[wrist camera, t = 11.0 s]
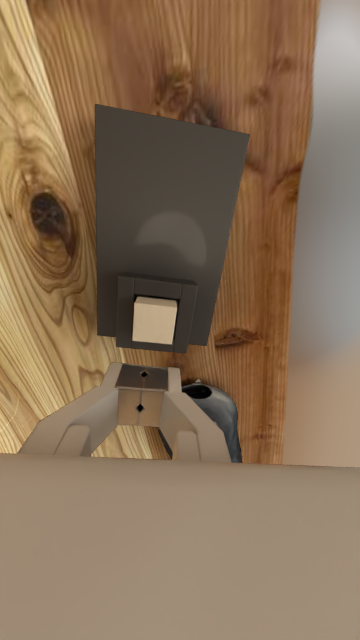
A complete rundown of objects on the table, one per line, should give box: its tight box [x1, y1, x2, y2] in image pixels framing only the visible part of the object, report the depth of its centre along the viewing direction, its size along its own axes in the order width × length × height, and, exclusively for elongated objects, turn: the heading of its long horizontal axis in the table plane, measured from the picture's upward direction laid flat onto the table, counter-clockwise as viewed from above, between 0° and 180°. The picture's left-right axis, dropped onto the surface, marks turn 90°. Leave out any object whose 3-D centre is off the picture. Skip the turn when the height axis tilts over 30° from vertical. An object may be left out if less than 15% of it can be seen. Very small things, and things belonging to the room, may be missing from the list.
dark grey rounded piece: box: [158, 379, 242, 463], centre depth 25 cm, size 9×6×15 cm
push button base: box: [95, 104, 250, 353], centre depth 17 cm, size 16×10×4 cm, turn 172°
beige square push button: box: [132, 296, 177, 344], centre depth 16 cm, size 3×3×2 cm
